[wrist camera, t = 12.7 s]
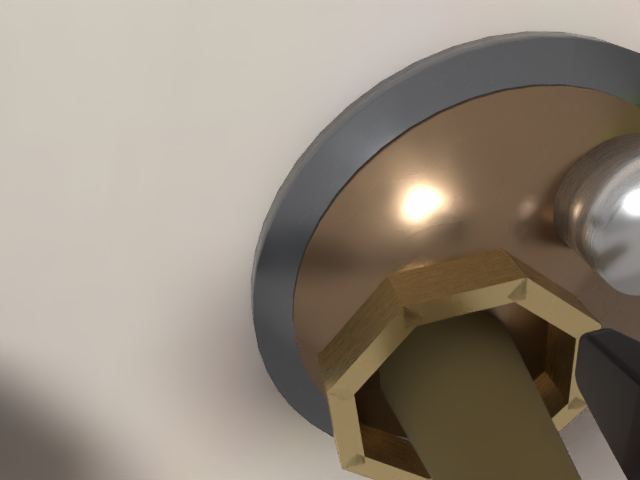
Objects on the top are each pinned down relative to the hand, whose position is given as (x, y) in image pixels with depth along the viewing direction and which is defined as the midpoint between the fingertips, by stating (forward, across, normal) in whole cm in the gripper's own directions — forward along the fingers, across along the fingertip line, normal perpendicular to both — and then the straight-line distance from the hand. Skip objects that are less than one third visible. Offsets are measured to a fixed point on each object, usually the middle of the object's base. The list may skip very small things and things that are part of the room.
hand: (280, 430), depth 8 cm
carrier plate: (+13, -9, +9) cm, 18 cm away
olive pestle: (+12, -6, +12) cm, 18 cm away
